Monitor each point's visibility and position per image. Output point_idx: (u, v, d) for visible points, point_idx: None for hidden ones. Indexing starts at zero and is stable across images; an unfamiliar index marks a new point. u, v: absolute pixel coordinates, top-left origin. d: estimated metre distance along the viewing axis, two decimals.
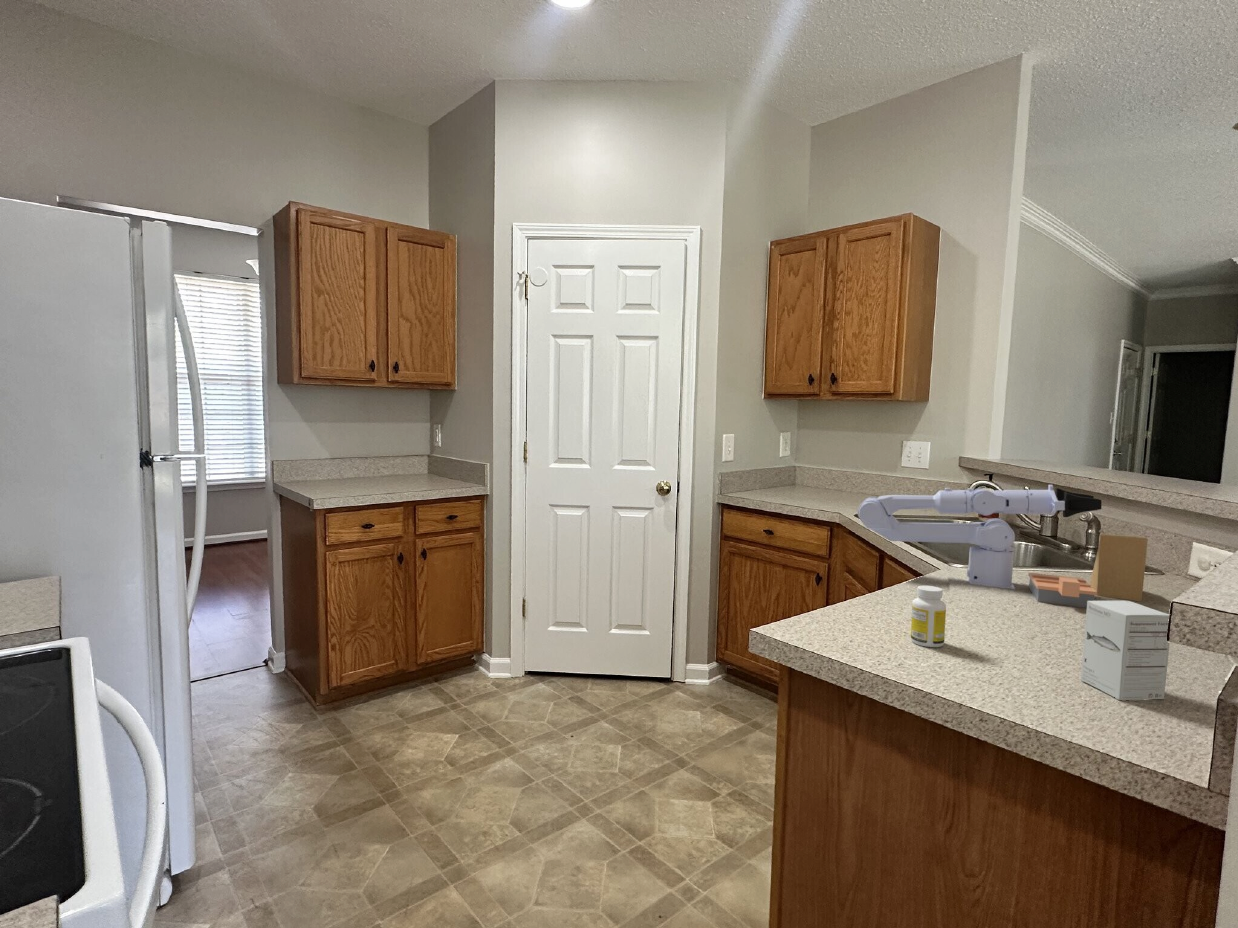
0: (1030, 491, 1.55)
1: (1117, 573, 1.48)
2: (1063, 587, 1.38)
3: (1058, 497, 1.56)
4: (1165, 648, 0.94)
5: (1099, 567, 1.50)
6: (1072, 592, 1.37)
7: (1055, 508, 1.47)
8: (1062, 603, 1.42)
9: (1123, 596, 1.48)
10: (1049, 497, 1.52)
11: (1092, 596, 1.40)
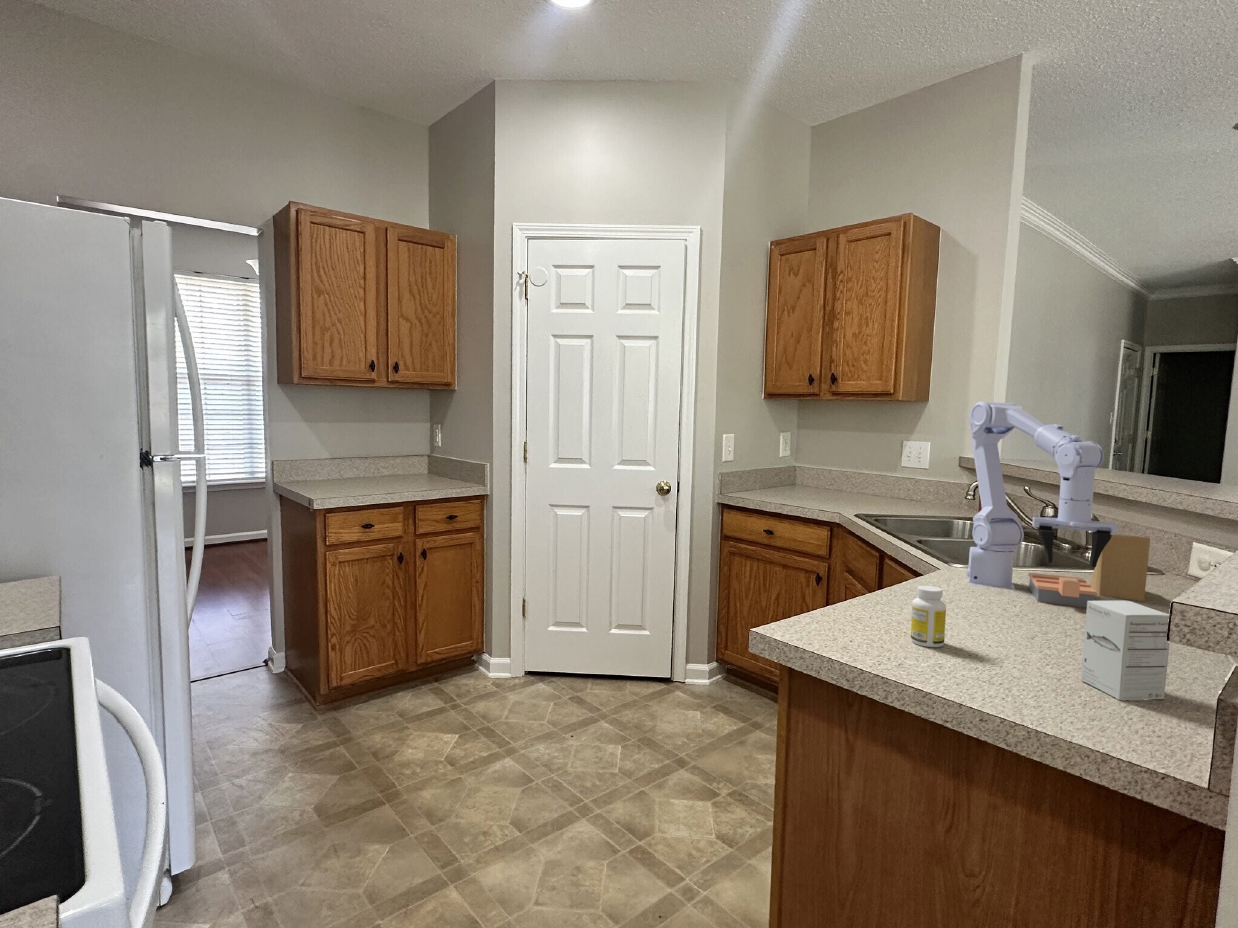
0: (1071, 503, 1.36)
1: (1119, 573, 1.48)
2: (1063, 587, 1.38)
3: (1095, 533, 1.36)
4: (1165, 648, 0.94)
5: (1102, 567, 1.50)
6: (1072, 592, 1.37)
7: (1033, 517, 1.42)
8: (1062, 603, 1.42)
9: (1125, 596, 1.48)
10: (1061, 518, 1.38)
11: (1092, 596, 1.40)
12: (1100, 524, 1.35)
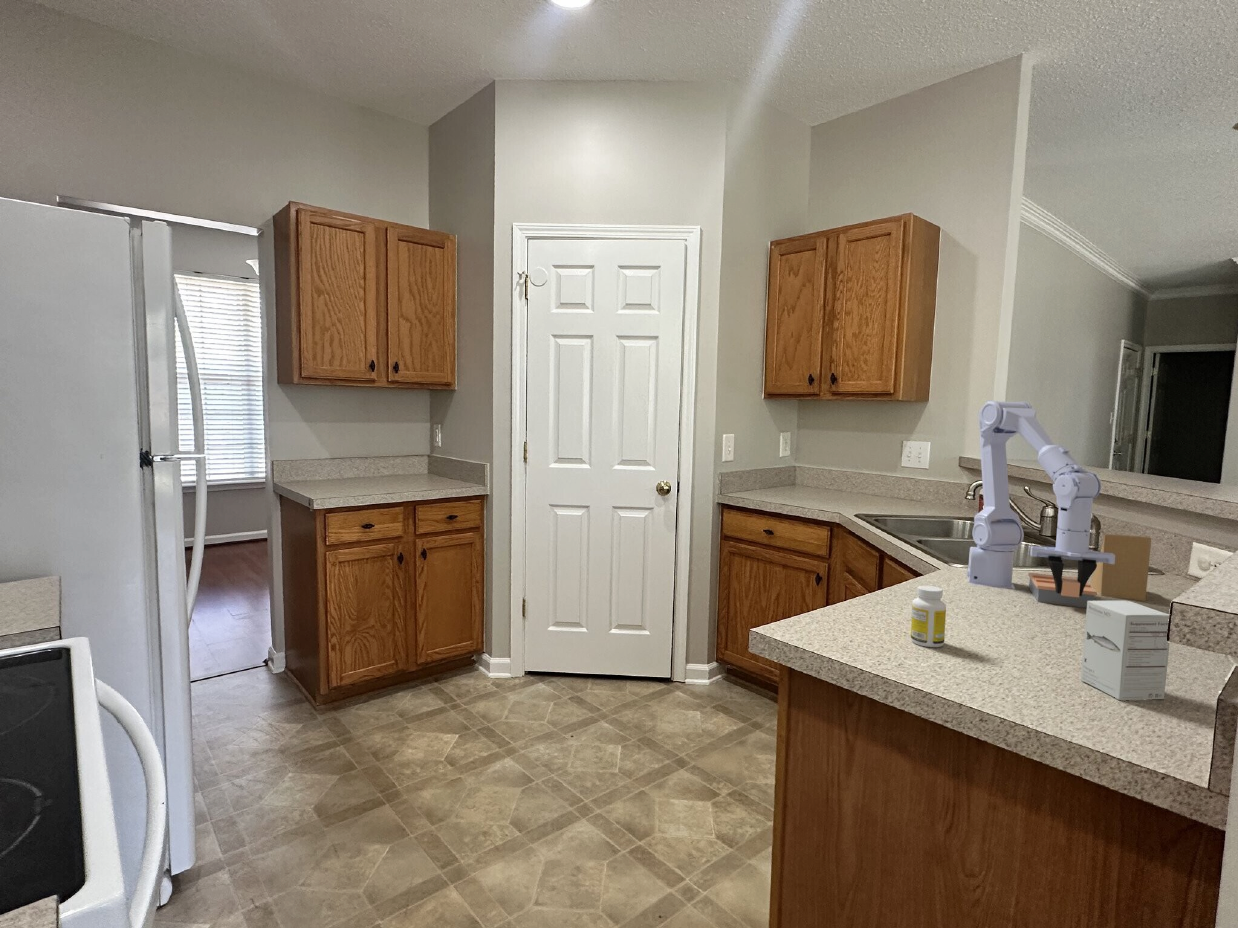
0: (1069, 533, 1.36)
1: (1121, 573, 1.49)
2: (1063, 587, 1.38)
3: (1081, 563, 1.37)
4: (1165, 648, 0.94)
5: (1103, 567, 1.50)
6: (1072, 592, 1.37)
7: (1031, 547, 1.42)
8: (1062, 603, 1.42)
9: (1127, 596, 1.48)
10: (1058, 548, 1.38)
11: (1092, 596, 1.40)
12: (1097, 555, 1.35)
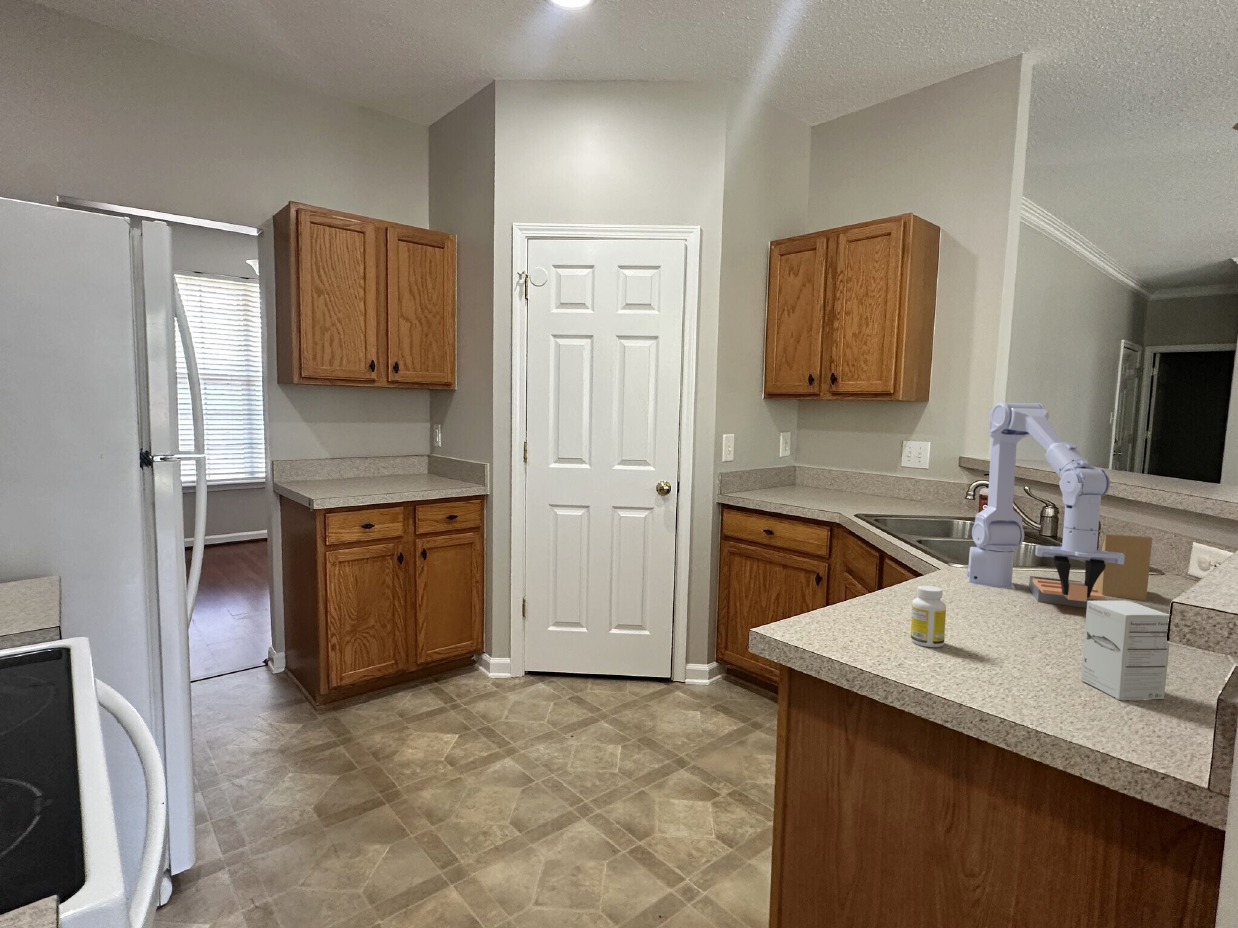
0: (1076, 532, 1.30)
1: (1122, 572, 1.49)
2: (1070, 591, 1.32)
3: (1089, 563, 1.31)
4: (1165, 648, 0.94)
5: None
6: (1079, 596, 1.31)
7: (1036, 546, 1.36)
8: (1062, 603, 1.42)
9: (1128, 596, 1.49)
10: (1065, 548, 1.32)
11: None
12: (1106, 554, 1.29)
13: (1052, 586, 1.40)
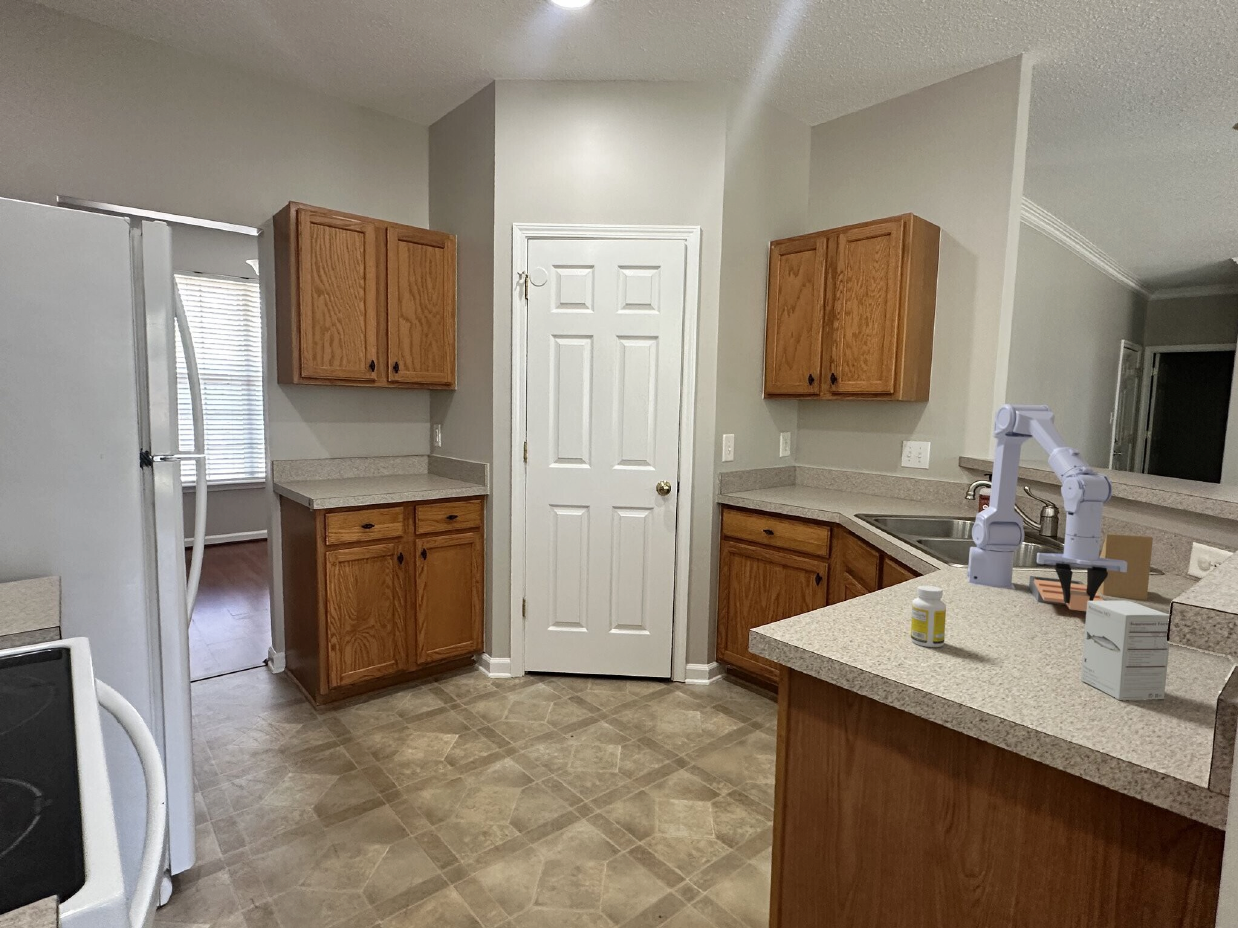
0: (1078, 539, 1.29)
1: (1122, 572, 1.49)
2: (1071, 600, 1.30)
3: (1091, 571, 1.30)
4: (1165, 648, 0.94)
5: None
6: (1081, 606, 1.30)
7: (1037, 553, 1.34)
8: (1062, 603, 1.42)
9: (1128, 595, 1.49)
10: (1067, 555, 1.30)
11: None
12: (1109, 562, 1.27)
13: (1054, 592, 1.38)
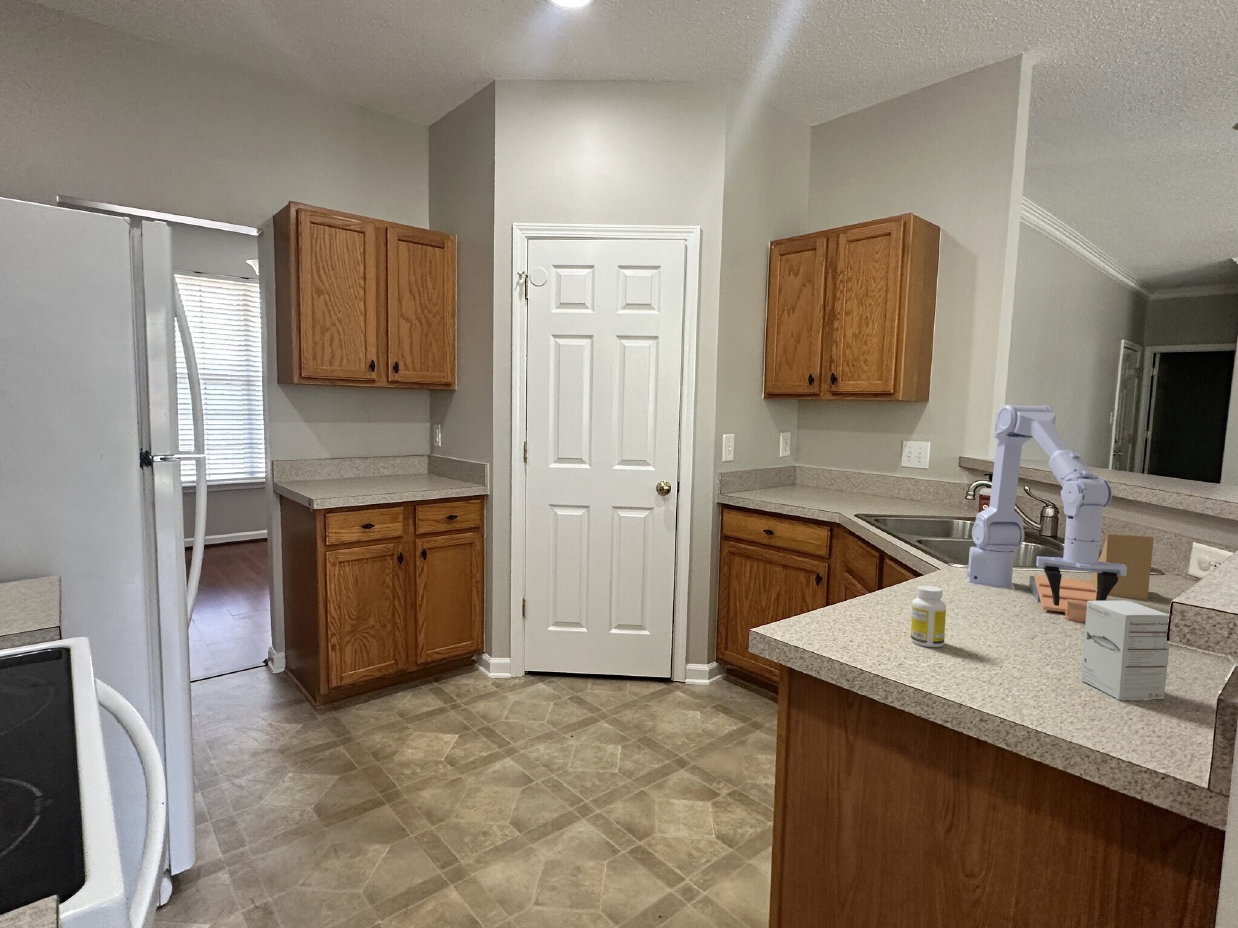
0: (1078, 543, 1.29)
1: None
2: (1070, 615, 1.30)
3: (1101, 575, 1.29)
4: (1165, 648, 0.94)
5: None
6: (1080, 620, 1.30)
7: (1037, 557, 1.34)
8: None
9: (1129, 595, 1.49)
10: (1066, 559, 1.31)
11: None
12: (1108, 566, 1.28)
13: None
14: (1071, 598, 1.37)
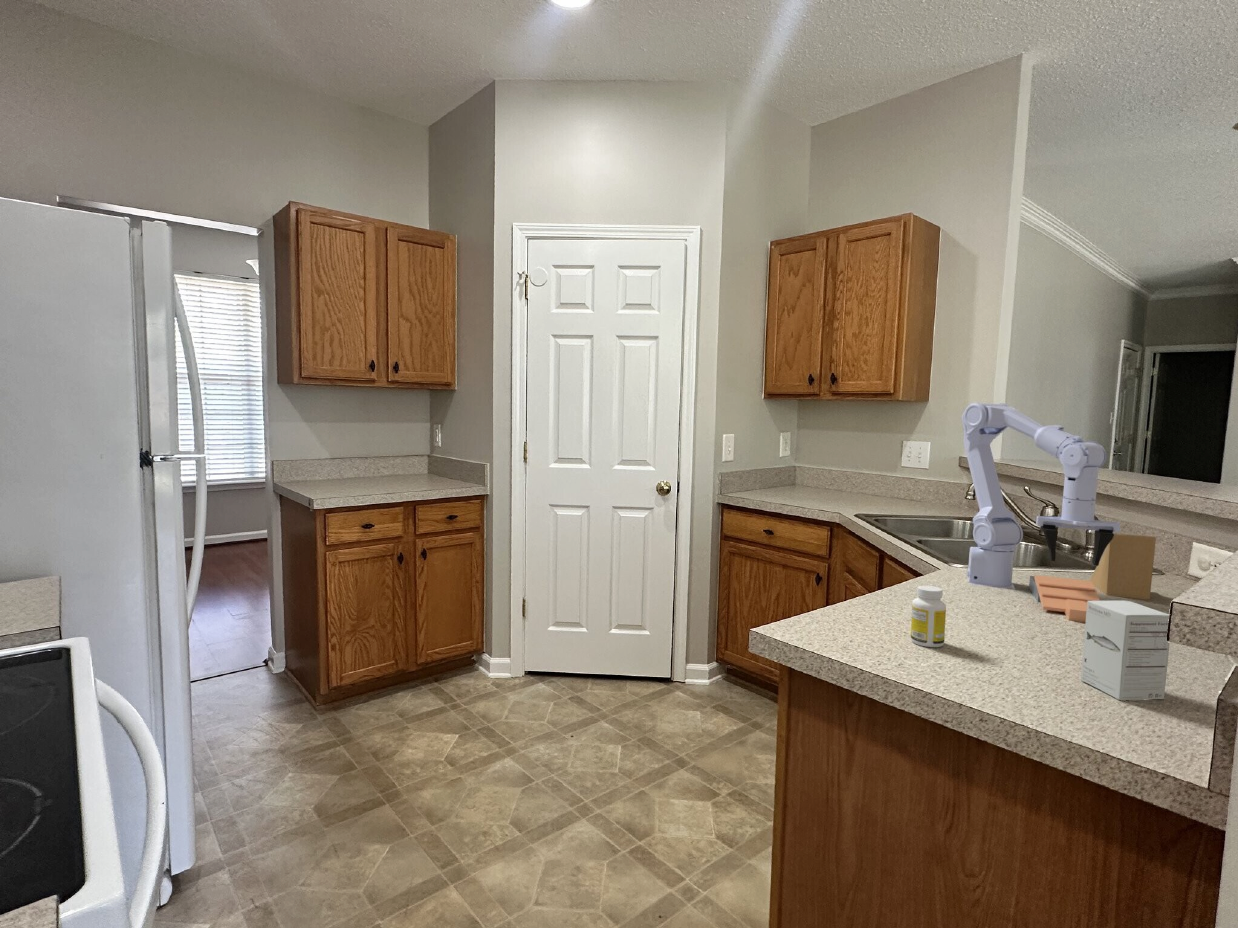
0: (1074, 502, 1.38)
1: (1126, 572, 1.50)
2: (1070, 615, 1.30)
3: (1098, 532, 1.39)
4: (1165, 648, 0.94)
5: (1109, 566, 1.51)
6: (1080, 620, 1.30)
7: (1037, 516, 1.44)
8: None
9: (1132, 595, 1.49)
10: (1064, 517, 1.40)
11: None
12: (1103, 523, 1.37)
13: (1053, 596, 1.38)
14: (1071, 598, 1.37)
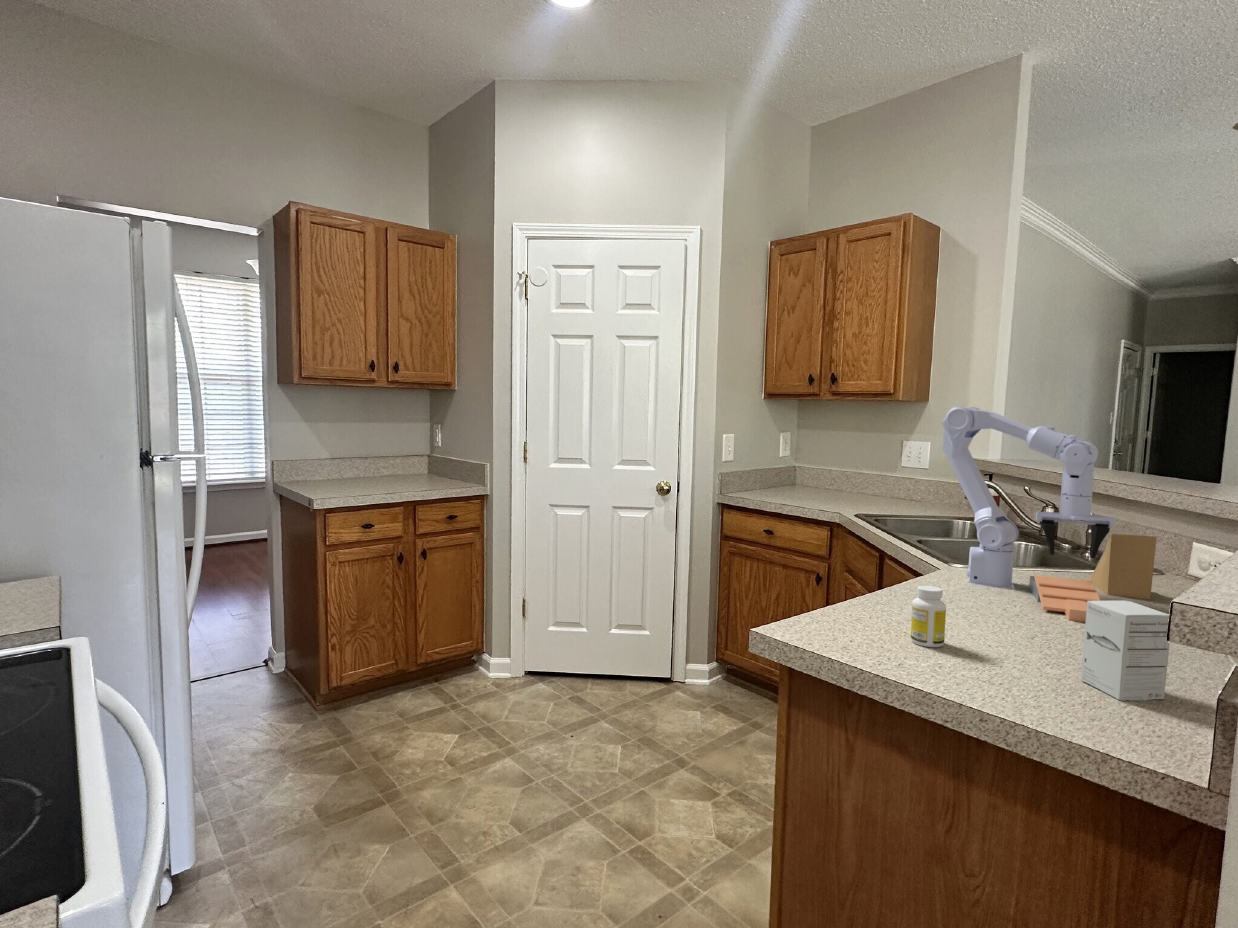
0: (1072, 498, 1.45)
1: (1127, 572, 1.50)
2: (1070, 615, 1.30)
3: (1094, 527, 1.45)
4: (1165, 648, 0.94)
5: (1110, 566, 1.51)
6: (1080, 620, 1.30)
7: (1036, 512, 1.51)
8: None
9: (1132, 595, 1.50)
10: (1062, 513, 1.47)
11: None
12: (1099, 518, 1.44)
13: (1053, 596, 1.38)
14: (1071, 598, 1.37)
